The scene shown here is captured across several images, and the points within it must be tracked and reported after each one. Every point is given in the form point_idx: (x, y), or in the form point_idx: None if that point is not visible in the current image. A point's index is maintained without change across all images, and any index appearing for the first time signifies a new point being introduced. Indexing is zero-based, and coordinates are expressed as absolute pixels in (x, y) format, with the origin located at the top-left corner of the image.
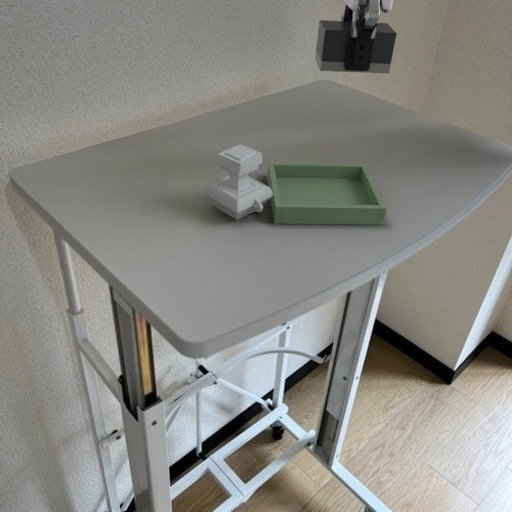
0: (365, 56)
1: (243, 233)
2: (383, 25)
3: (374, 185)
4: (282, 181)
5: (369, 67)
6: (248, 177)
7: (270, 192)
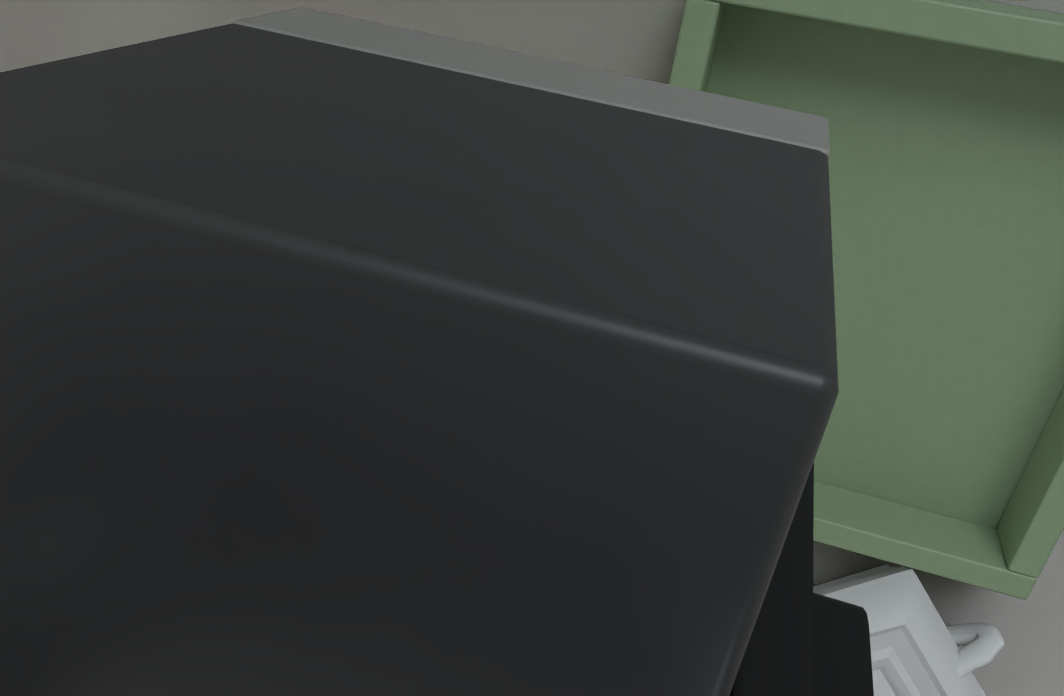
0: (862, 685)
1: (1034, 663)
2: (72, 347)
3: (990, 21)
4: None
5: (812, 466)
6: None
7: (919, 596)
